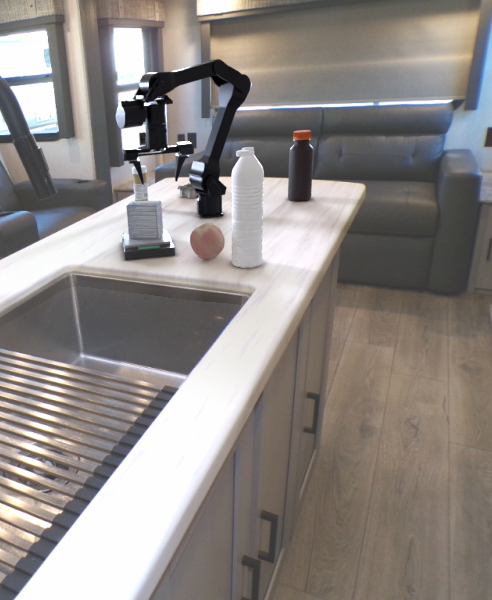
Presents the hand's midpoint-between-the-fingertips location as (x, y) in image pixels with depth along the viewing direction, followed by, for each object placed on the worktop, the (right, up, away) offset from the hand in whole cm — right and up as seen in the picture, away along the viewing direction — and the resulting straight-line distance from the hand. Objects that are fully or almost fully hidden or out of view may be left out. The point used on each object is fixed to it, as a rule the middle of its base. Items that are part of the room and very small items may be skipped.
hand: (159, 183), depth 148 cm
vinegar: (+45, -1, +17) cm, 48 cm away
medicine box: (-4, -17, -13) cm, 22 cm away
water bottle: (+16, -25, -30) cm, 42 cm away
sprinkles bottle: (-3, -3, +24) cm, 25 cm away
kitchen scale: (-4, -19, -13) cm, 24 cm away
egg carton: (+15, +4, +36) cm, 39 cm away
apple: (+9, -23, -24) cm, 34 cm away
